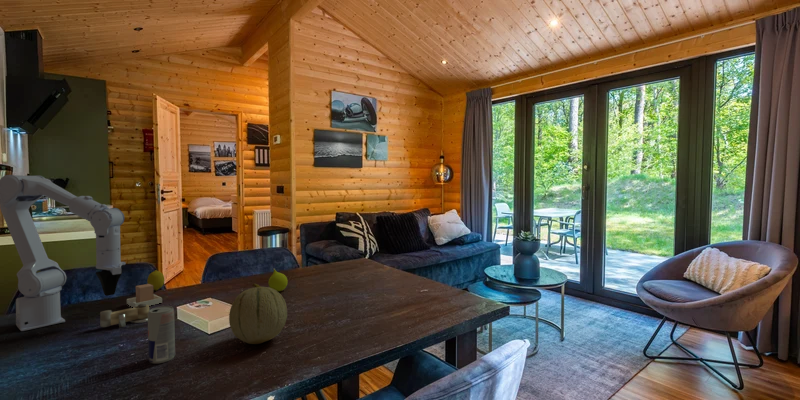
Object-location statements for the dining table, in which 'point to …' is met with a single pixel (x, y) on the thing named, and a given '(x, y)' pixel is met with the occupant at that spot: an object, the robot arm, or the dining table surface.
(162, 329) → the energy drink
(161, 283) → the lemon
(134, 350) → the dining table surface
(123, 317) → the crank base
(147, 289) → the block
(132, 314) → the crank arm
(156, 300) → the tray
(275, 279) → the green fig
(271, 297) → the cantaloupe
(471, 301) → the dining table surface
